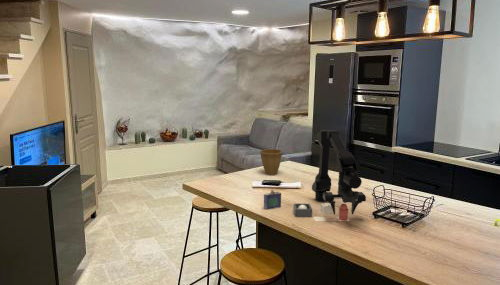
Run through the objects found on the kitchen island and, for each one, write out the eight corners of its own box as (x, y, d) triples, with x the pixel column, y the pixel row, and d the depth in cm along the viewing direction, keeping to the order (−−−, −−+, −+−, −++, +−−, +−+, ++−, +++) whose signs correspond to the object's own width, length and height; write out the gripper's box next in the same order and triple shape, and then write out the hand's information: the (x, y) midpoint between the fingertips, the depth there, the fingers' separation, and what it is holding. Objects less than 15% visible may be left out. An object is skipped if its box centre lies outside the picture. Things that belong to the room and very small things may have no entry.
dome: (295, 211, 182) (296, 203, 181) (307, 211, 182) (307, 203, 182) (297, 216, 177) (297, 207, 176) (309, 215, 177) (309, 207, 176)
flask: (264, 212, 186) (264, 191, 184) (262, 210, 188) (262, 189, 186) (281, 210, 189) (282, 189, 187) (279, 208, 191) (279, 188, 189)
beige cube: (320, 211, 184) (321, 203, 183) (328, 210, 184) (328, 202, 184) (323, 214, 180) (324, 206, 179) (331, 213, 180) (331, 205, 180)
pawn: (338, 217, 175) (338, 202, 174) (346, 217, 175) (347, 202, 174) (339, 220, 171) (340, 205, 170) (348, 220, 171) (349, 205, 170)
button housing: (293, 211, 184) (293, 203, 183) (309, 211, 184) (309, 203, 183) (295, 217, 176) (295, 209, 175) (312, 217, 176) (312, 209, 175)
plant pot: (271, 169, 266) (271, 148, 263) (286, 174, 254) (286, 151, 251) (255, 173, 256) (255, 150, 253) (270, 178, 245) (270, 154, 242)
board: (290, 213, 184) (291, 210, 184) (343, 213, 185) (343, 210, 184) (294, 224, 170) (294, 221, 170) (351, 224, 171) (351, 221, 171)
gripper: (328, 187, 162) (327, 221, 165) (371, 187, 162) (368, 220, 165) (323, 180, 173) (321, 211, 176) (363, 180, 173) (361, 211, 176)
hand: (343, 214), depth 173 cm, fingers open, 8 cm apart
